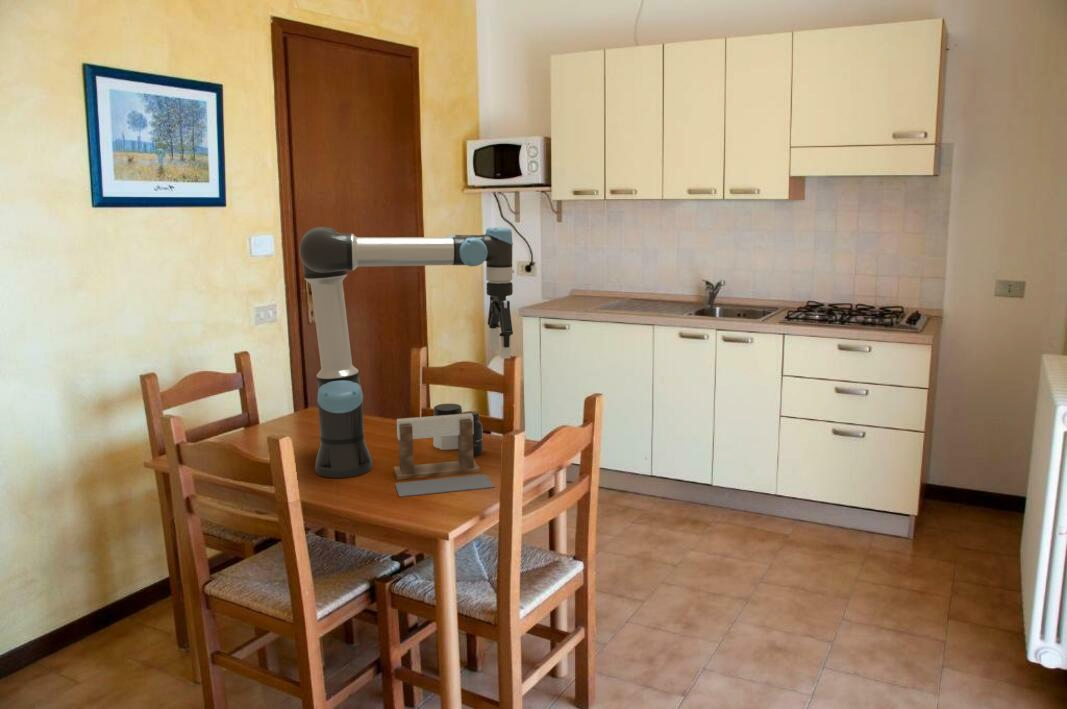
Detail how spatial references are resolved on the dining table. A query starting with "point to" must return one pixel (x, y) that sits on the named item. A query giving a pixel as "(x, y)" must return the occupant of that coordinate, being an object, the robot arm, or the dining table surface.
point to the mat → (443, 485)
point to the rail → (434, 425)
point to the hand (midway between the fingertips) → (499, 354)
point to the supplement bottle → (477, 433)
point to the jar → (446, 441)
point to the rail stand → (436, 469)
